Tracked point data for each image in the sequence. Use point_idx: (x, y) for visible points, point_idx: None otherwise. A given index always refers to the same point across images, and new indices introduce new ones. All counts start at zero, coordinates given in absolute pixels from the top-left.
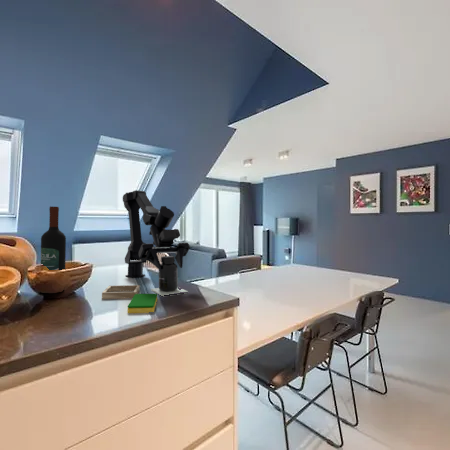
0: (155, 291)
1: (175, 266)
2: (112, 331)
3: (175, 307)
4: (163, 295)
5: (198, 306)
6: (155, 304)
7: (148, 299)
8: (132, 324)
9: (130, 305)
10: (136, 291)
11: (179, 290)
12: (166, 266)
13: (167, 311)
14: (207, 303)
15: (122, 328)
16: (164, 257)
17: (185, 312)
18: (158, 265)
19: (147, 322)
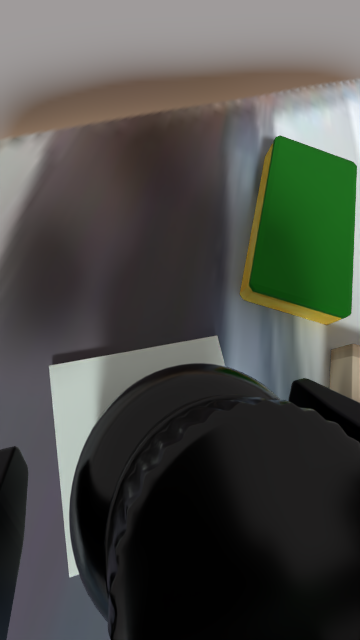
0: None
1: (121, 399)
2: (355, 86)
3: (186, 169)
4: (205, 338)
5: (97, 144)
6: (257, 208)
7: (293, 205)
8: (318, 101)
9: (349, 164)
10: (350, 370)
11: (93, 406)
12: (245, 379)
13: (221, 145)
14: (42, 160)
15: (337, 91)
16: (351, 444)
17: (167, 113)
18: (344, 401)
19: (284, 96)
